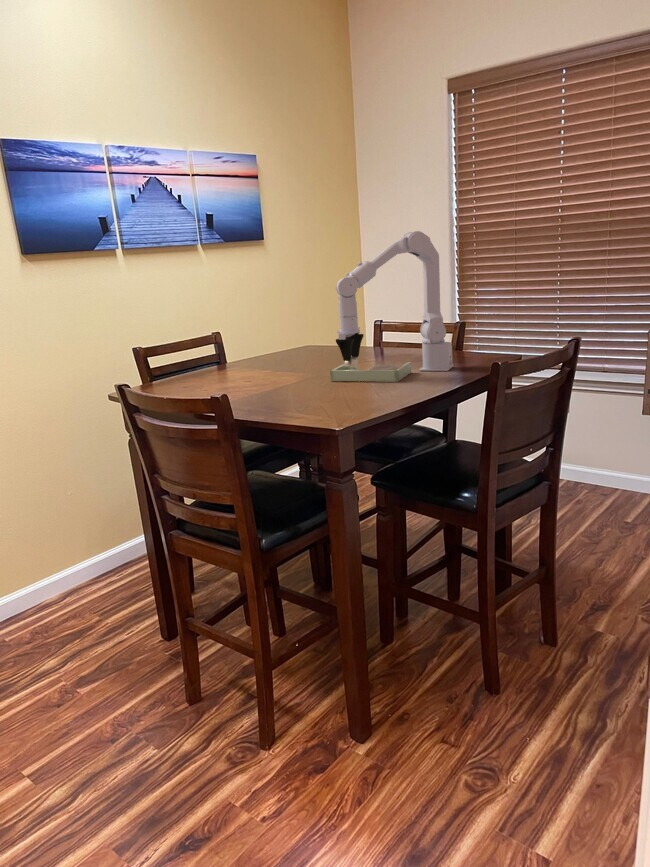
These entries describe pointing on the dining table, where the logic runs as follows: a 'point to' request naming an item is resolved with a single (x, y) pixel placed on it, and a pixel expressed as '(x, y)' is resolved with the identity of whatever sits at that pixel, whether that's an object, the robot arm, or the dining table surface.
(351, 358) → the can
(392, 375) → the tray
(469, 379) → the dining table surface
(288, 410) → the dining table surface
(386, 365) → the donut
